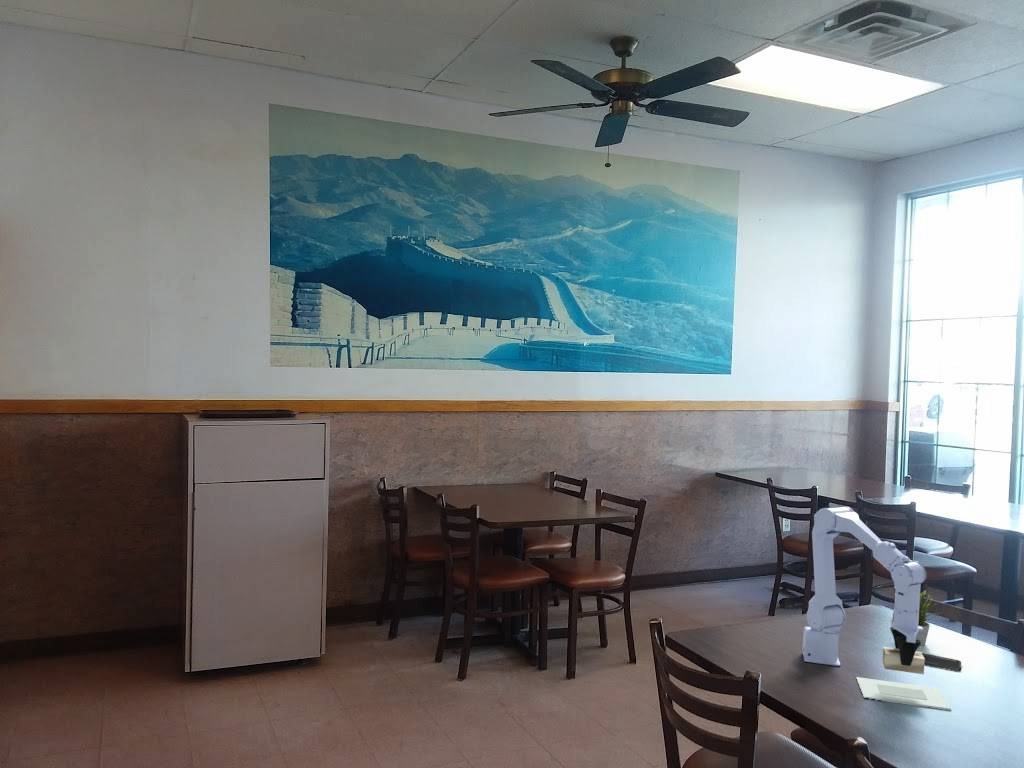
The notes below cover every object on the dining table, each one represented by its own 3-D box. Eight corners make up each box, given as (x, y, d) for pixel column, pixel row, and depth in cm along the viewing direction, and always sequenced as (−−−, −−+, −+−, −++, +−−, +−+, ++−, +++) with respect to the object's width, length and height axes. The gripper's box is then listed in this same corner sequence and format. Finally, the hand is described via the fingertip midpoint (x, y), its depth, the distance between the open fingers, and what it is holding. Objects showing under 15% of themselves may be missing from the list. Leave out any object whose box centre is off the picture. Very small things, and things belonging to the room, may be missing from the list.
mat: (863, 698, 204) (863, 696, 204) (856, 678, 216) (856, 676, 216) (951, 710, 199) (951, 708, 199) (938, 689, 211) (938, 687, 211)
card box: (923, 674, 204) (924, 658, 203) (884, 668, 206) (885, 653, 206) (920, 667, 208) (921, 651, 208) (882, 661, 211) (883, 646, 211)
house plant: (894, 629, 258) (897, 579, 257) (943, 640, 250) (946, 588, 249) (885, 642, 246) (888, 589, 245) (935, 653, 238) (939, 598, 237)
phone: (903, 649, 238) (961, 660, 231) (903, 653, 238) (960, 664, 231) (901, 657, 231) (960, 669, 224) (901, 661, 231) (960, 673, 224)
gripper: (930, 619, 199) (927, 673, 199) (917, 602, 213) (914, 653, 213) (899, 616, 200) (896, 669, 201) (888, 599, 214) (885, 649, 215)
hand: (903, 660), depth 207 cm, fingers closed on card box, 5 cm apart
